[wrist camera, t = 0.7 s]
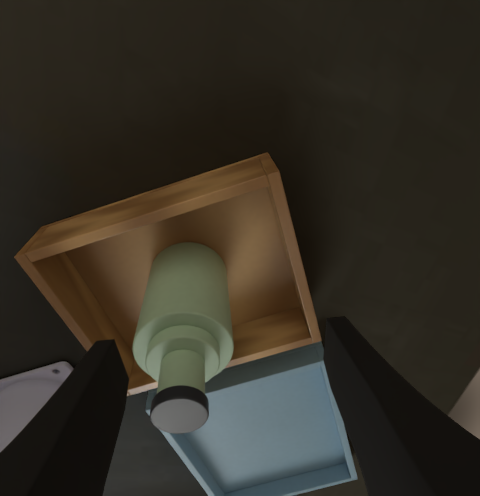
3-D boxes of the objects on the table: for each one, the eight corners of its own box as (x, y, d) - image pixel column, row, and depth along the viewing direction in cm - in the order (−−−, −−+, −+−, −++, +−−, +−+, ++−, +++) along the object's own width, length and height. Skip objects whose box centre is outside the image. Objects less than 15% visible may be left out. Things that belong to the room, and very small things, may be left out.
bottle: (168, 312, 23) (148, 462, 15) (137, 255, 21) (92, 396, 12) (235, 291, 23) (254, 434, 15) (212, 231, 21) (217, 360, 12)
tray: (220, 492, 37) (221, 513, 35) (148, 388, 28) (144, 410, 26) (350, 458, 36) (357, 479, 34) (320, 339, 27) (328, 359, 25)
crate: (131, 358, 26) (122, 398, 23) (41, 226, 20) (12, 257, 17) (308, 306, 25) (322, 341, 22) (267, 151, 19) (279, 170, 16)
